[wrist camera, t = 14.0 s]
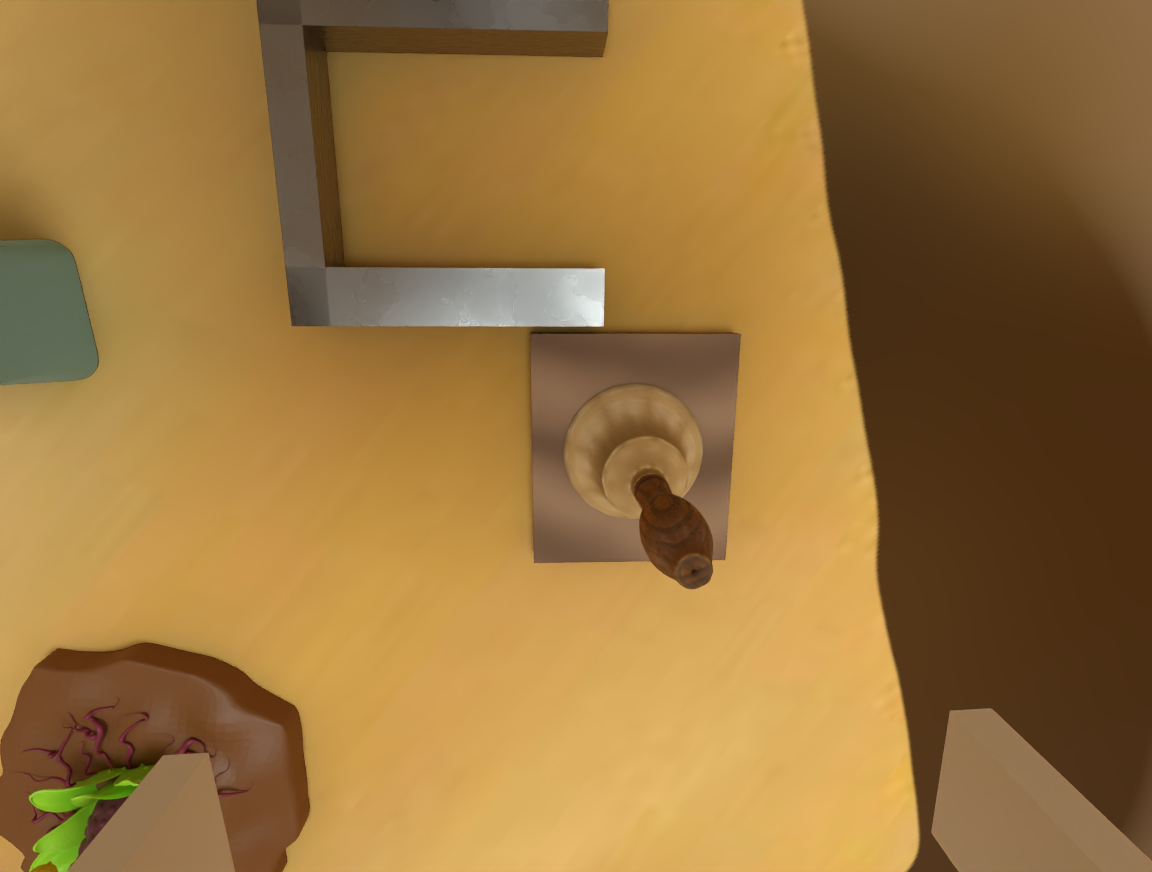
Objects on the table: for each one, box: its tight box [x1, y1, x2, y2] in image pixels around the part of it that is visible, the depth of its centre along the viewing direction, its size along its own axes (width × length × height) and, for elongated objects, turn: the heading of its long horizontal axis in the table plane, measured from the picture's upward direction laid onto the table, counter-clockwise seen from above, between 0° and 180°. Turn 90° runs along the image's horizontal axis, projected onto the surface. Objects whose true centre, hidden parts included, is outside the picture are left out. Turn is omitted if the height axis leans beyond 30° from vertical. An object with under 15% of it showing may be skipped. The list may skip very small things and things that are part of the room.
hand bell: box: [563, 384, 713, 589], centre depth 27 cm, size 8×8×16 cm
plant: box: [0, 643, 310, 872], centre depth 35 cm, size 20×20×11 cm
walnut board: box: [531, 332, 741, 563], centre depth 35 cm, size 14×12×2 cm
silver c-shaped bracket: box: [256, 0, 608, 326], centre depth 30 cm, size 17×16×3 cm
